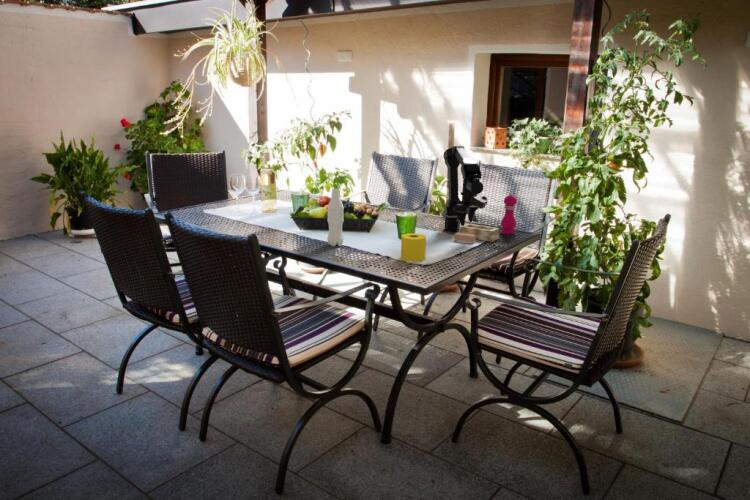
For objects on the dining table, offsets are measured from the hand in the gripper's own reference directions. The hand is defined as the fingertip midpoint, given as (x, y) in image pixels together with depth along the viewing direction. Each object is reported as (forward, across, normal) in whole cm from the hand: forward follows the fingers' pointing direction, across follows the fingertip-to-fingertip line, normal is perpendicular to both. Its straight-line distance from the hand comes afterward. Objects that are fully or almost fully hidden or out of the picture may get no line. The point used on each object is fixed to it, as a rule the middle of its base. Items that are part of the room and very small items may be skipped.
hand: (466, 223), depth 280 cm
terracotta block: (+7, 0, 0) cm, 7 cm away
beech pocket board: (+8, +10, -2) cm, 13 cm away
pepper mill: (+8, +26, -11) cm, 30 cm away
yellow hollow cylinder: (+8, -40, +7) cm, 41 cm away
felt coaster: (+8, 0, 0) cm, 8 cm away
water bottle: (+8, -41, +45) cm, 61 cm away
